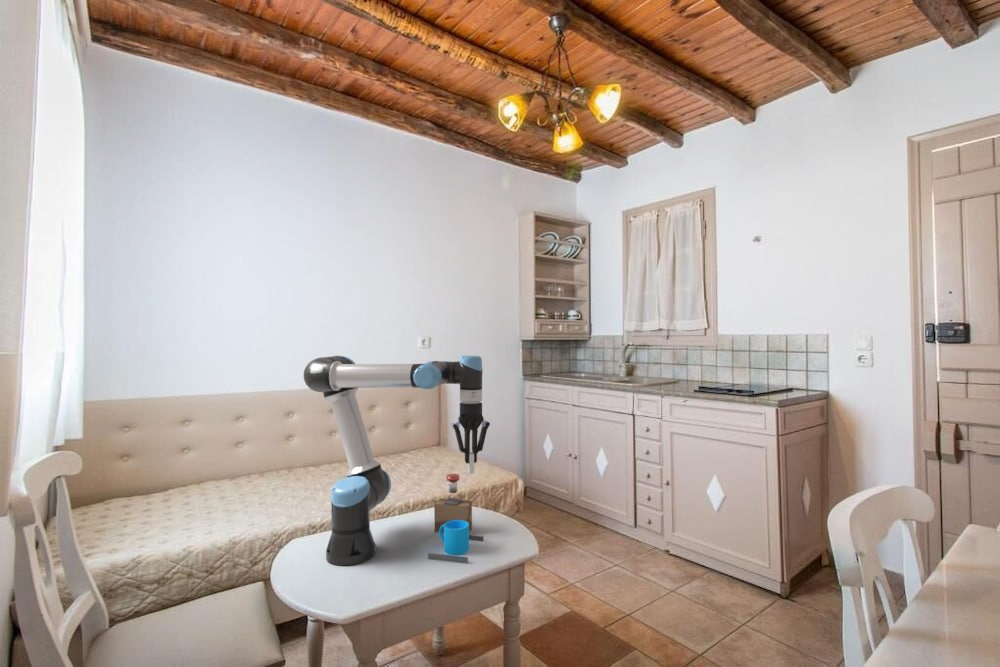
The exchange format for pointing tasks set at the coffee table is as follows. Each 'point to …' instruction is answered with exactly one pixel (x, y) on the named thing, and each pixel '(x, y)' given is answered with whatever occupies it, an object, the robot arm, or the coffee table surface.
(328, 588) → the coffee table surface
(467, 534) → the mug
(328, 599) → the coffee table surface
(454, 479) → the red rounded piece
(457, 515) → the end cabinet
